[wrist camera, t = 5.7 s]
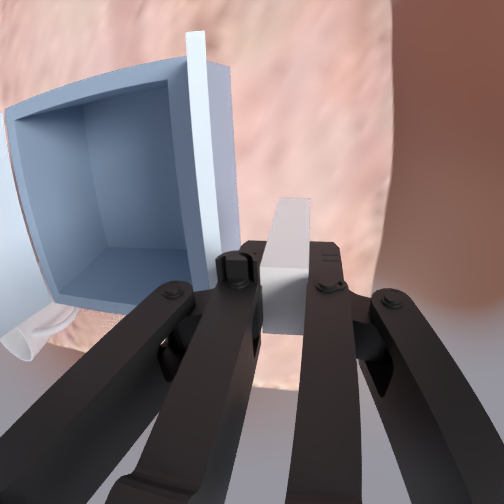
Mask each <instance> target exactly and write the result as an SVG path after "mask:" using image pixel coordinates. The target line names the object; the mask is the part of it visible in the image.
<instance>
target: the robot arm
mask: <svg viewBox="0 0 504 504" xmlns="http://www.w3.org/2000/svg"><path fill="white" fill-rule="evenodd" d="M215 263H216V271H217V279H218V282H217V284H216V286H215V288H213V289H209V290H203V291H196V292H194V291H193V286H192V285H191V284H190V283H188V282H185V281H178V280H176V281H169V282H167V283H164V284H162V285H160V286H159V287H157V288H156V289H155V290H154V291H153V292H152V293H151V294H150V295H148V296H147V297H146V298H145V299H144V300H143V301H142V302H141V303H140V304H138V305H137V306H136V307H135V308H134V309H133V310H132V311H131V312H130V313H129V314H127V315H126V316H125V317H124V318H123V319H122V320H121V321H120V322H119V323H118V324H117V325H115V326H114V327H113V328H112V329H111V330H110V331H109V332H108V333H107V334H106V335H105V336H104V337H103V338H101V339H100V340H99V341H98V342H97V343H96V344H95V345H94V346H93V347H92V348H91V349H90V350H89V351H88V352H87V353H86V354H84V356H82V357H81V358H80V359H79V360H78V361H77V362H76V363H75V364H74V365H73V366H72V367H71V368H70V369H69V370H68V371H67V372H66V373H65V374H64V375H63V376H62V377H61V378H60V379H58V380H57V381H56V382H55V383H54V384H53V385H52V386H51V387H50V388H49V389H48V390H47V391H46V392H45V393H44V394H43V395H42V396H41V397H40V398H39V399H38V400H37V401H36V402H35V403H34V404H33V405H32V406H31V407H30V408H29V409H28V410H27V411H26V412H25V413H24V414H23V415H22V416H21V417H20V418H19V419H18V420H17V421H16V422H15V423H14V424H13V425H12V426H11V427H10V428H9V429H8V430H7V431H6V432H5V433H4V434H3V435H2V436H1V437H0V504H86V503H87V502H88V501H89V499H90V498H91V497H92V496H93V495H94V493H95V492H96V491H97V490H98V488H99V487H100V486H101V484H102V483H103V482H104V481H105V480H106V478H107V477H108V476H109V475H110V473H111V472H112V471H113V470H114V468H115V467H116V466H117V464H118V463H119V462H120V461H121V460H122V458H123V457H124V456H125V455H126V453H127V452H128V451H129V450H130V448H131V447H132V446H133V444H134V443H135V442H136V441H137V439H138V438H139V437H140V436H141V434H142V433H143V432H144V430H145V429H146V428H147V427H148V425H149V424H150V423H151V422H152V420H153V419H154V417H155V416H156V415H157V414H158V412H159V411H160V412H159V415H158V417H157V419H156V422H155V424H154V426H153V428H152V431H151V433H150V436H149V438H148V440H147V443H146V445H145V447H144V450H143V452H142V454H141V457H140V459H139V461H138V464H137V466H136V468H135V470H134V471H133V472H132V473H131V474H128V475H124V476H121V477H120V478H119V479H118V480H117V481H116V482H115V484H114V485H113V487H112V489H111V490H110V493H109V495H108V497H107V500H106V502H105V504H224V502H225V499H226V495H227V490H228V486H229V482H230V478H231V474H232V470H233V466H234V462H235V457H236V453H237V449H238V445H239V440H240V436H241V432H242V427H243V423H244V419H245V414H246V410H247V405H248V401H249V395H250V392H251V387H252V383H253V378H254V374H255V369H256V364H257V360H258V355H259V350H260V346H261V328H263V333H271V334H288V335H303V348H302V360H301V372H300V383H299V394H298V403H297V413H296V423H295V431H294V440H293V448H292V456H291V464H290V471H289V479H288V486H287V493H286V499H285V504H362V497H361V495H362V491H361V490H362V456H361V422H360V404H359V387H358V373H357V361H356V358H357V359H358V361H359V365H360V368H361V370H362V372H363V375H364V377H365V380H366V382H367V385H368V387H369V390H370V392H371V395H372V397H373V399H374V402H375V405H376V407H377V410H378V412H379V415H380V417H381V420H382V423H383V425H384V428H385V430H386V433H387V436H388V438H389V441H390V444H391V446H392V449H393V452H394V455H395V457H396V460H397V463H398V465H399V468H400V471H401V474H402V477H403V480H404V483H405V485H406V488H407V491H408V494H409V497H410V500H411V503H412V504H504V444H503V442H502V440H501V438H500V436H499V434H498V432H497V431H496V429H495V427H494V425H493V423H492V422H491V420H490V418H489V416H488V415H487V413H486V411H485V409H484V408H483V406H482V404H481V403H480V401H479V399H478V398H477V396H476V394H475V393H474V392H473V389H472V388H471V386H470V385H469V383H468V381H467V380H466V378H465V377H464V375H463V373H462V372H461V370H460V369H459V367H458V366H457V364H456V363H455V361H454V359H453V358H452V356H451V355H450V353H449V352H448V351H447V349H446V347H445V346H444V345H443V343H442V342H441V340H440V339H439V337H438V336H437V334H436V333H435V331H434V330H433V328H432V327H431V326H430V324H429V323H428V321H427V320H426V319H425V317H424V316H423V314H422V313H421V312H420V310H419V309H418V308H417V306H416V305H415V303H414V302H413V301H412V299H411V298H410V297H409V296H408V295H407V294H405V293H404V292H402V291H400V290H396V289H391V288H389V289H388V288H387V289H385V288H384V289H380V290H377V291H376V292H374V293H373V294H372V297H371V298H368V297H364V296H360V295H357V294H355V293H353V292H351V291H350V290H349V289H348V285H347V283H346V282H345V281H344V277H343V270H342V262H341V256H340V249H339V247H338V246H337V245H336V244H335V243H334V242H314V241H310V198H279V201H278V204H277V208H276V211H275V215H274V219H273V222H272V226H271V229H270V233H269V236H268V240H267V241H249V240H248V241H247V242H246V243H244V244H243V245H242V246H241V247H240V249H239V250H234V251H228V252H224V253H223V254H221V255H219V256H218V257H217V258H216V259H215ZM164 339H166V340H165V341H164ZM163 341H164V343H163V344H161V343H162V342H163ZM160 344H161V345H160Z"/></svg>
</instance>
